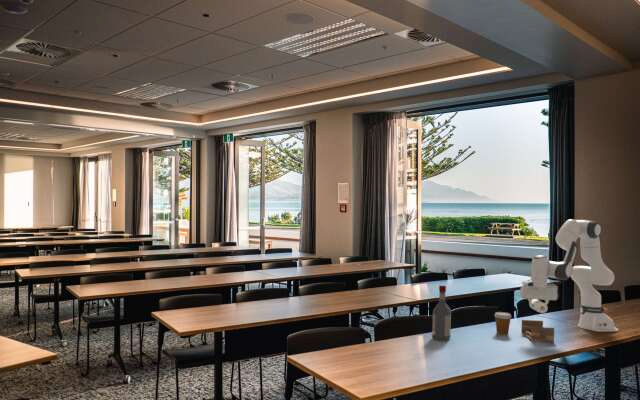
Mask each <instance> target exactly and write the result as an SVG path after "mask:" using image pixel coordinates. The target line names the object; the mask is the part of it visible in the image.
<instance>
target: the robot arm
mask: <svg viewBox="0 0 640 400" xmlns="http://www.w3.org/2000/svg"><path fill="white" fill-rule="evenodd" d="M601 232H602V226H601V224H600V223H599V221H595V220H588V219H573V218H572V219H571V218H570V219H567V220H566V221H565V222H564V223H563V224H562V225H561V226H560V228H559V229H558V232H557V233H556V236H555V242H556V244H557V245H558V246H559V248H561V249H562V250H564V251H566V252H565V256H564V259H563V261H552V260H550V259H548V257H547V255H544V254H537V255H534V256H532V260H531V267H530V268H531V270H530V271H531V275H530V279H527V280H523V281H521V284H522V285H521V287H520V291H519V297H520V298H521V299H525V300H528V302H529V303H530V305H529V307H530V308H531V307H534V306H533V305H534V304H533V303H532V302H531V301H532V299H537V300H539V301H542V300H544V303H545V304H546V305H547V306H548V304H549V302H550V301H557V300H558V285H556V284H554V283H548V278H552V279H557V280H561V281H566V280H568V279H570V277H571V280H572V281H574V283H575V284H576V285H577V286H578V289H579V291H580V298H581V301H580V302H581V303H580V308H579V311H580V316H579V322H578V324H577V327H579V328H580V329H582V330H583V329H584V330H589V331H593V332H597V333H599V332H619V328H617V327H616V326H615V322H614V320H613V319H612V318H611V317H610V316H609V315H608V314H606V313H605V312H607V311H608V309H607V308H606V307H603V306H602V295H601V293H600V292H599V291H598V290H597V289H595V288H594V286H593V285H596V286H611V285H612V284H613V283H614V281H615V274H614V272H613V271H612V270H611V269H610V268H609V267H608V266H607V265H606V264H605V263H604V261H603V258H602V252H601V243H600V242H601V241H600V236H601ZM579 238H580V239H579ZM578 239H579V241H580V242H579V245H580V247H579V245H578V243H577V240H578ZM578 248H580V257H581V259H582V260H583V261H584V262H586V263H588V265H589V266H588V265H574V263H575V261H576V257H577V254H578ZM529 303H528V304H529Z"/></svg>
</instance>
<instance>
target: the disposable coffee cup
mask: <svg viewBox="0 0 640 400" xmlns="http://www.w3.org/2000/svg"><path fill="white" fill-rule="evenodd" d="M511 318H512V315H511V313H509V312H502V311H497V312H495V313H494V319H495V328H496V334H497V335H501V336H508V335H509V330H510V324H511Z"/></svg>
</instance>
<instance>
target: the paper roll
mask: <svg viewBox="0 0 640 400" xmlns="http://www.w3.org/2000/svg"><path fill="white" fill-rule="evenodd" d="M531 302H532V303H533V304H534V305H533V306H534V307H530V308H531V309H532V310H534V311H536V312H537V313H540V314H546V313H547V311H548V309H549V307H548V304H547V305H546V304H545V302H543V301H542V300H539V299H532V301H531ZM528 304H529V306H530V303H528Z"/></svg>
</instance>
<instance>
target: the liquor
mask: <svg viewBox="0 0 640 400" xmlns="http://www.w3.org/2000/svg"><path fill="white" fill-rule="evenodd" d="M446 290H447V285H439V286H438V291H439V292H438V293H439V295H438V297H439V298H438V303H437V304H436V306H435V307H434V308H433V309H432V327H431V328H432V330H431V337H432V339H433V340H435V341H440V342H448V341H449V340H450V339H451V327H452V325H451V323H452V322H451V320H452V310H451V307H449V305H448V304H447V303H446Z"/></svg>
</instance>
